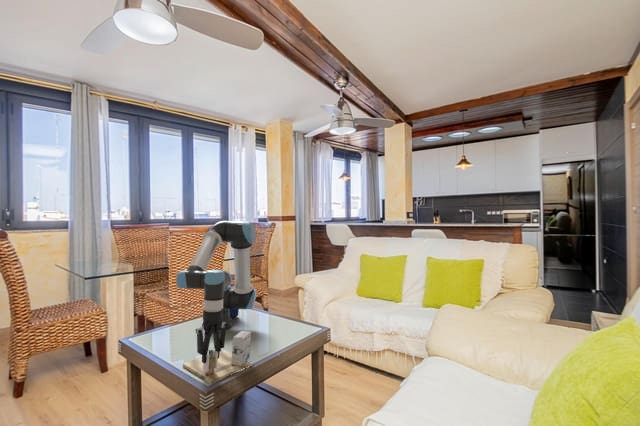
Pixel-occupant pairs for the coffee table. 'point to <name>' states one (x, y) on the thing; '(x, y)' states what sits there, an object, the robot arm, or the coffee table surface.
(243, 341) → the ink box
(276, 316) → the coffee table surface
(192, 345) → the coffee table surface
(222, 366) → the board
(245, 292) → the robot arm
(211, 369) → the brown bottle
